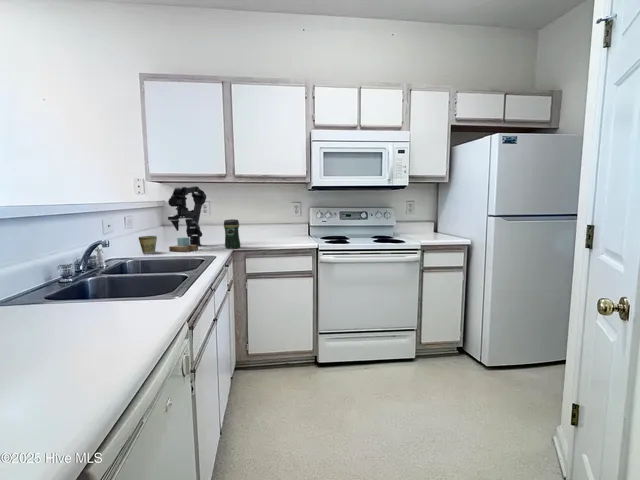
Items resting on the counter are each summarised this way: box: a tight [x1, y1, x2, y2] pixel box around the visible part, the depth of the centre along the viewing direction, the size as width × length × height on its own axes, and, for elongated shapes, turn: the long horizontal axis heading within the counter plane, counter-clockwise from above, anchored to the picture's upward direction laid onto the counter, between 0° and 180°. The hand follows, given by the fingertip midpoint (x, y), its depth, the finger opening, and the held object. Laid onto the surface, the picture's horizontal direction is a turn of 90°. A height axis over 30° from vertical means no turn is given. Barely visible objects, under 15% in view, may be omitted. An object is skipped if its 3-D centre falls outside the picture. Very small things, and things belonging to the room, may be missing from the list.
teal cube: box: [176, 236, 190, 246], centre depth 221 cm, size 5×5×5 cm
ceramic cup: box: [138, 235, 158, 254], centre depth 216 cm, size 13×10×10 cm
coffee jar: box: [223, 218, 241, 249], centre depth 228 cm, size 10×8×19 cm
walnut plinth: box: [168, 244, 199, 253], centre depth 221 cm, size 12×12×3 cm
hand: (183, 230), depth 231 cm, fingers open, 9 cm apart
